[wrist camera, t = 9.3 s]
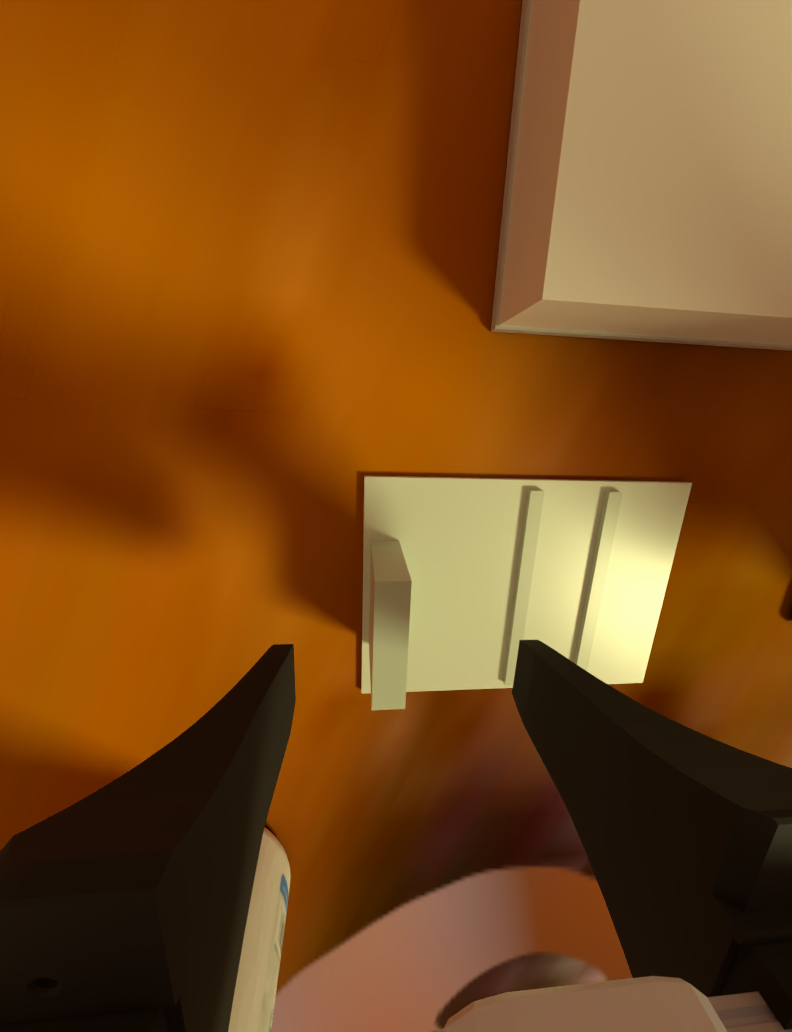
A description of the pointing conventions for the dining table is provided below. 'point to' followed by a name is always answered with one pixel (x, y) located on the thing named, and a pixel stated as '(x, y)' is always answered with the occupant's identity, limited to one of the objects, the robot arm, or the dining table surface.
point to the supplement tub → (262, 941)
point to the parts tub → (650, 173)
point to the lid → (510, 578)
